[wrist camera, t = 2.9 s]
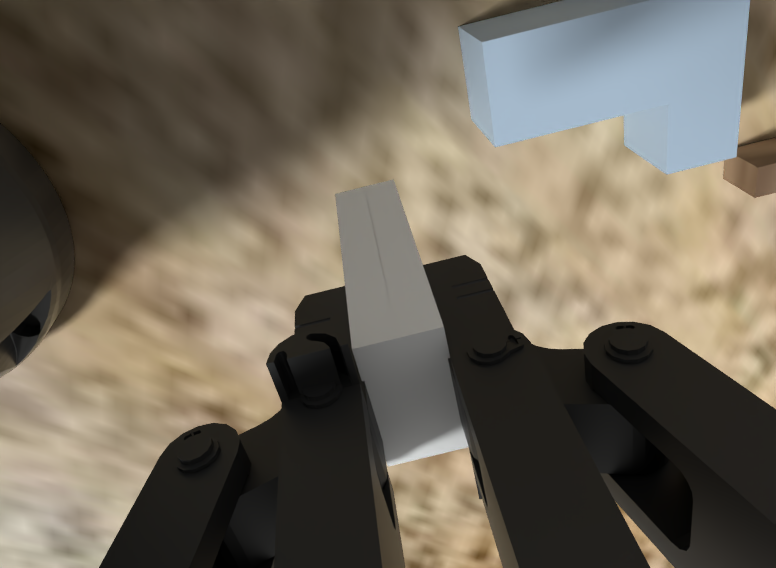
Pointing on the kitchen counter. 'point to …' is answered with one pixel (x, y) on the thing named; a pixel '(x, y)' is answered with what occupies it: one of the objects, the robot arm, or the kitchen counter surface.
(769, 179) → the bay
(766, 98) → the kitchen counter surface
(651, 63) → the blue t-shaped block
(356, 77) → the kitchen counter surface
